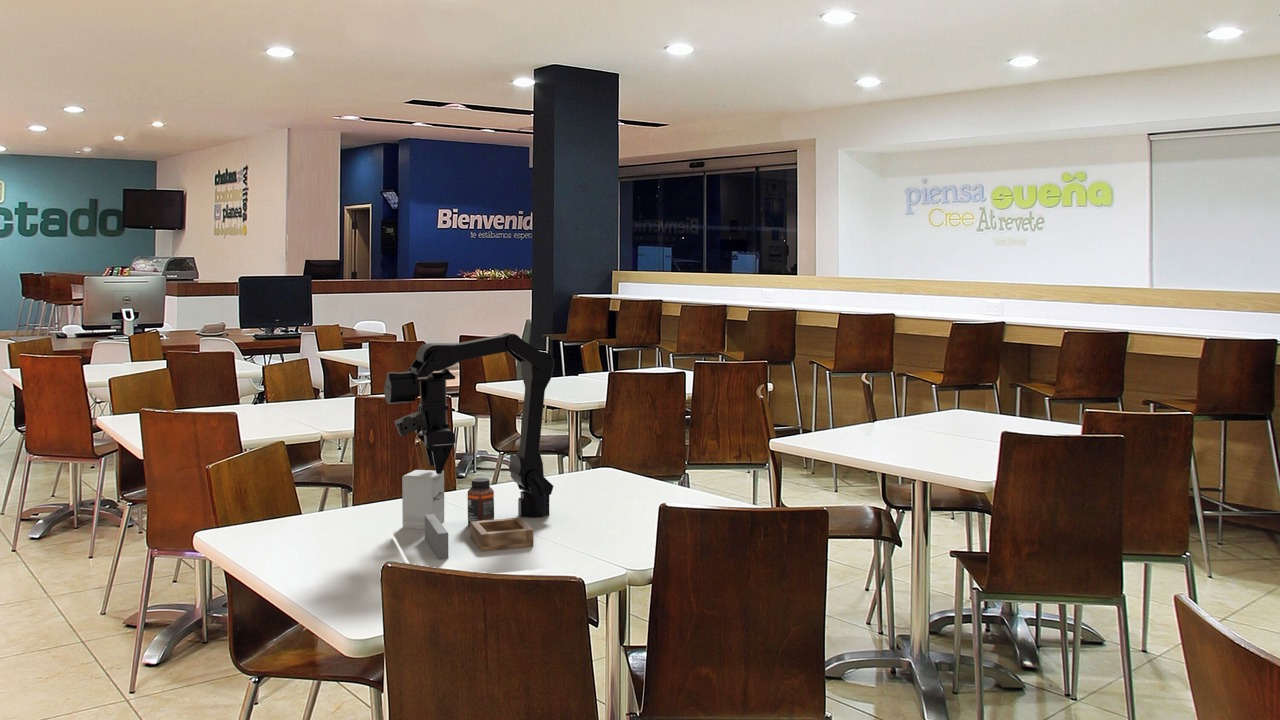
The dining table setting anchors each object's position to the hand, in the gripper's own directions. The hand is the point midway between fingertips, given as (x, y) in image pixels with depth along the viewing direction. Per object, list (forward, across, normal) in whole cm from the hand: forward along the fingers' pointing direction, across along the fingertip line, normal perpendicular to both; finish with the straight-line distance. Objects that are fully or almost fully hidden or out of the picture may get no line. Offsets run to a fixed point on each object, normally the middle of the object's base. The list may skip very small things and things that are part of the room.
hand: (435, 469), depth 224 cm
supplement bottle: (+14, +2, +10) cm, 17 cm away
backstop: (+14, +17, +7) cm, 23 cm away
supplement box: (+14, -3, -2) cm, 15 cm away
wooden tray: (+13, +17, +11) cm, 24 cm away
